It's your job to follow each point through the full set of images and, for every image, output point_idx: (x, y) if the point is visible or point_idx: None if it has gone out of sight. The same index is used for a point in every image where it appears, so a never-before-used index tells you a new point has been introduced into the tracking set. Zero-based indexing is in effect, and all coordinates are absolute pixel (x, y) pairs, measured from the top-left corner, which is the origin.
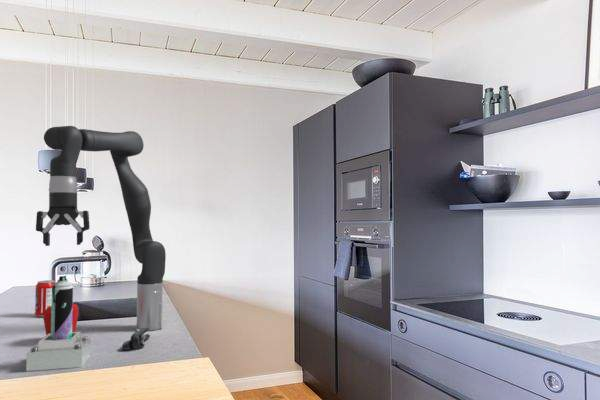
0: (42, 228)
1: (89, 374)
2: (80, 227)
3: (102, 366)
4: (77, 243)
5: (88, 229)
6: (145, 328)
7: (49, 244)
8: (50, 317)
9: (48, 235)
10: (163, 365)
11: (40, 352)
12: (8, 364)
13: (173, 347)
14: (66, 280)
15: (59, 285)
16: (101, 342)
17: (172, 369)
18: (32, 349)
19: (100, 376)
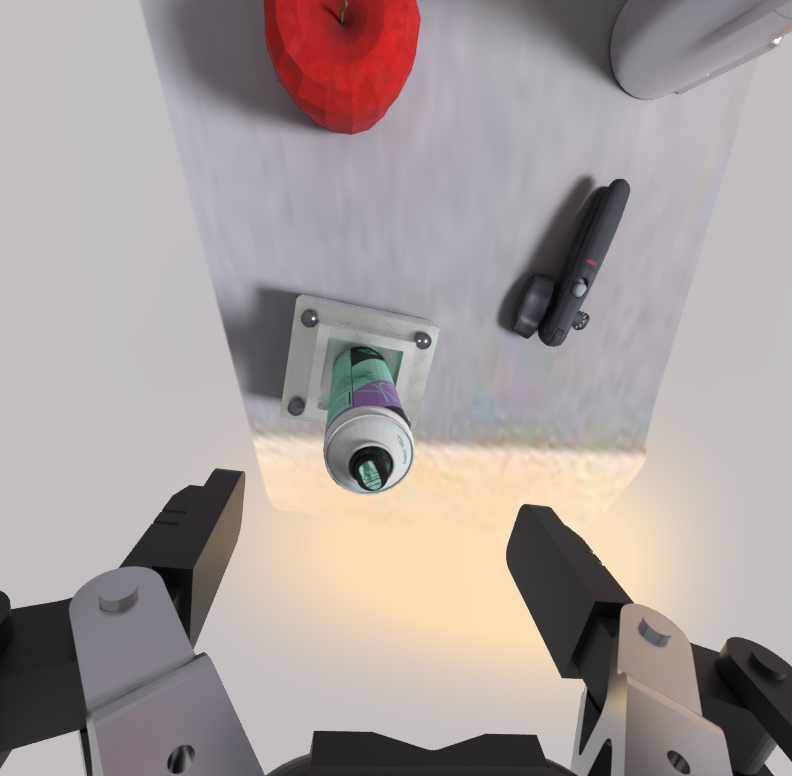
0: (38, 734)
1: (419, 473)
2: (673, 688)
3: (448, 432)
4: (514, 569)
5: (748, 653)
6: (613, 232)
7: (242, 484)
8: (302, 105)
9: (201, 607)
10: (561, 475)
11: (313, 421)
12: (228, 318)
13: (627, 349)
14: (389, 470)
15: (358, 490)
16: (469, 188)
17: (568, 504)
18: (291, 414)
19: (438, 493)
